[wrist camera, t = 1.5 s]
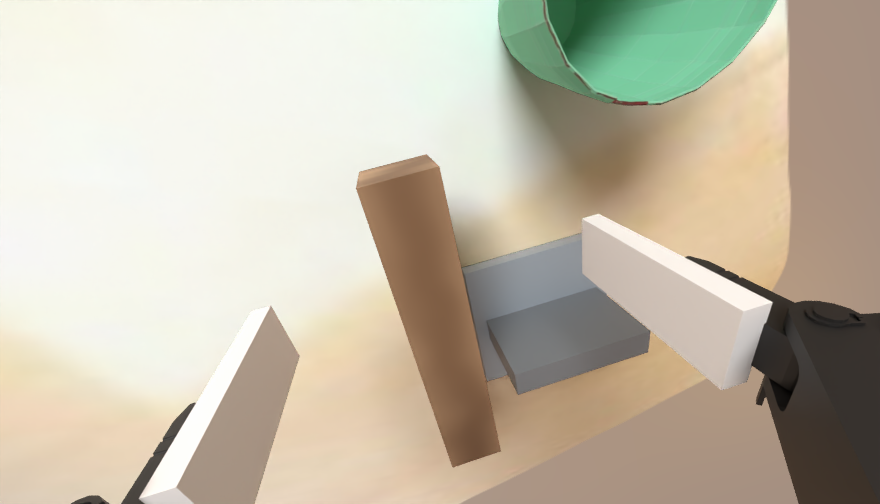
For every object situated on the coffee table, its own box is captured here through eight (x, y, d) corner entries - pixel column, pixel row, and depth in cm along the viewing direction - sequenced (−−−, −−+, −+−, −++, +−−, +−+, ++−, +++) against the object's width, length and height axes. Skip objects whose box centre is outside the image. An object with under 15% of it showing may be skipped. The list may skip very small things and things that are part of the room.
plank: (442, 422, 25) (452, 467, 22) (359, 171, 16) (356, 188, 13) (484, 408, 25) (500, 451, 22) (426, 154, 16) (439, 166, 13)
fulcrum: (484, 373, 31) (512, 442, 24) (461, 268, 25) (490, 321, 19) (598, 336, 32) (654, 393, 25) (600, 227, 26) (671, 266, 20)
